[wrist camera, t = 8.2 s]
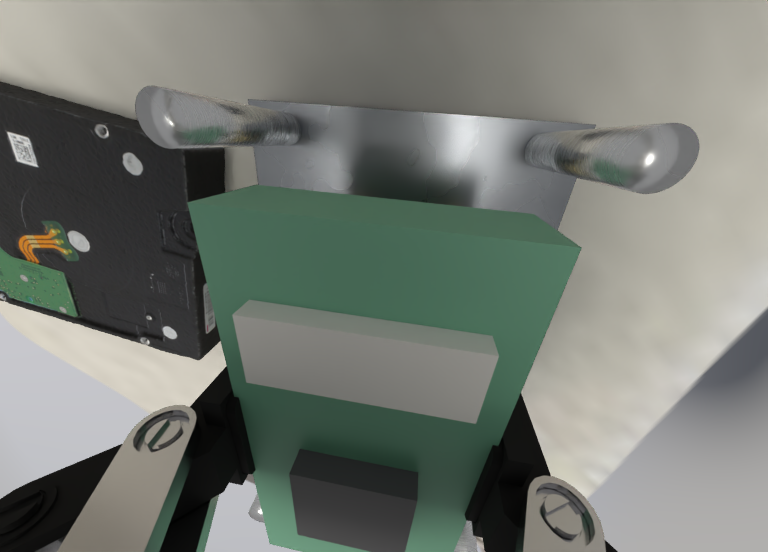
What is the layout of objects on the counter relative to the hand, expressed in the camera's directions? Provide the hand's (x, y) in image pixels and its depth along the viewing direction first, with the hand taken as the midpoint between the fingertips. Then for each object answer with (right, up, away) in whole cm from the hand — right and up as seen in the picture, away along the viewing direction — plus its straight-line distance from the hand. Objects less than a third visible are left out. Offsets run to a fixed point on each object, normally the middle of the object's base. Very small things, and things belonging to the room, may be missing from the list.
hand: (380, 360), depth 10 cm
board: (0, -1, -1) cm, 1 cm away
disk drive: (-14, +6, +4) cm, 16 cm away
